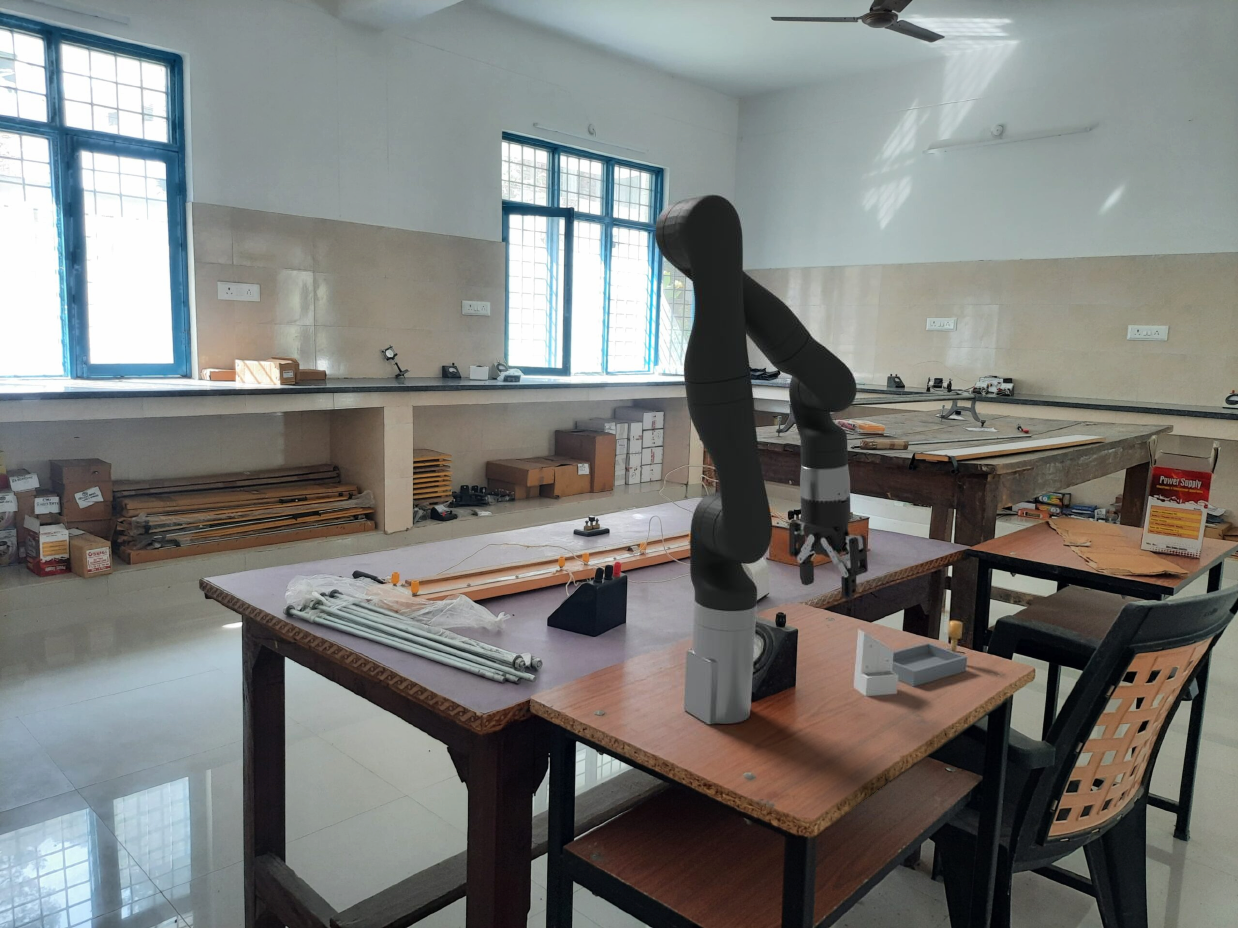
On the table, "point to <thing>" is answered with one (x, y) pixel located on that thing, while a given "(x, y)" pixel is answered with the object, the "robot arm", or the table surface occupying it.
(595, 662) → the table surface
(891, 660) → the white angled block
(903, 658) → the shallow grey tray
